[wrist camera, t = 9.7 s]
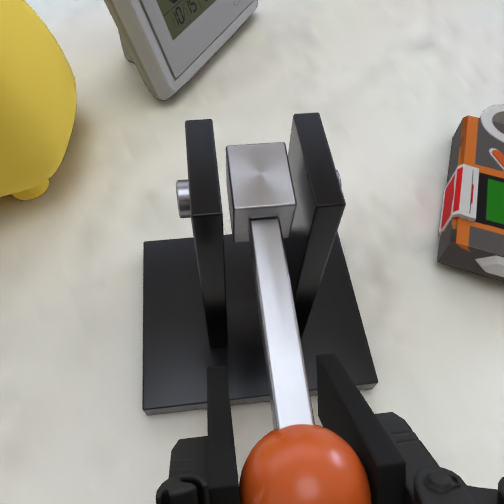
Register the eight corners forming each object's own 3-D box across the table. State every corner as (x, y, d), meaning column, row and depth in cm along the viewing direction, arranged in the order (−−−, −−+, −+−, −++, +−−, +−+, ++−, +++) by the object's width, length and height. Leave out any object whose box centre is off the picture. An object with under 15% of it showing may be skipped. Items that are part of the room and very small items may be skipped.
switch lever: (365, 551, 13) (406, 573, 10) (244, 570, 13) (248, 597, 10) (293, 187, 19) (306, 128, 16) (210, 193, 19) (205, 134, 16)
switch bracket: (373, 388, 24) (484, 269, 13) (146, 415, 23) (66, 309, 12) (332, 235, 29) (388, 60, 19) (146, 251, 28) (91, 75, 18)
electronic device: (560, 112, 33) (576, 276, 25) (537, 143, 35) (544, 302, 27) (466, 91, 34) (450, 241, 26) (450, 122, 36) (431, 269, 28)
